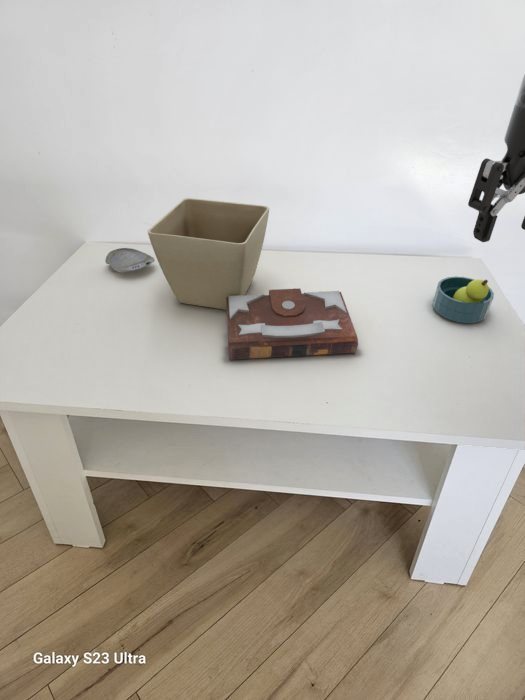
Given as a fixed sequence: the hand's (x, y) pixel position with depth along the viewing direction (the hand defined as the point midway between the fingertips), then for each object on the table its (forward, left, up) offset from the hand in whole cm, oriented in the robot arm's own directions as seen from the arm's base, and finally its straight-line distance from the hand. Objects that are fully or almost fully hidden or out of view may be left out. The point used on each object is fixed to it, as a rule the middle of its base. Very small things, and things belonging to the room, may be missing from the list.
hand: (505, 235), depth 63 cm
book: (+29, +10, -26) cm, 40 cm away
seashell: (+72, +16, -26) cm, 78 cm away
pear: (+8, -20, -25) cm, 33 cm away
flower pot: (+50, +9, -26) cm, 57 cm away
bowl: (+8, -20, -26) cm, 33 cm away
